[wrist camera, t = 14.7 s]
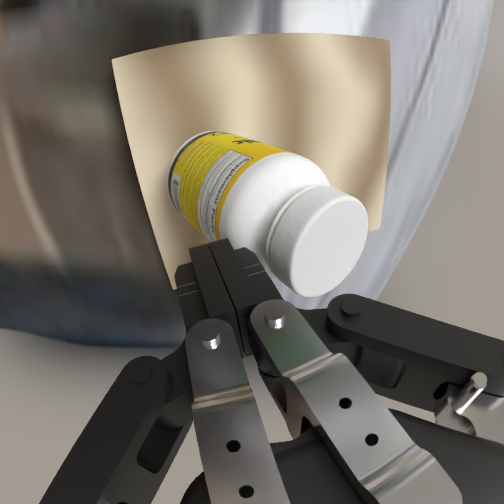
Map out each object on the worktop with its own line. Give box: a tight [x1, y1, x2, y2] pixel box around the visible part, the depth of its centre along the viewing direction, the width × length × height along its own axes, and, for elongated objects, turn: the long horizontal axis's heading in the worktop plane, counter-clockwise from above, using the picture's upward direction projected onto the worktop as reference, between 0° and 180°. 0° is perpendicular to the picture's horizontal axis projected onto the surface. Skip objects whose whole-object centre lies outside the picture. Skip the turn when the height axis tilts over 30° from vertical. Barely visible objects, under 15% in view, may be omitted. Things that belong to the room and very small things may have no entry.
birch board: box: [112, 33, 390, 290], centre depth 20 cm, size 18×16×2 cm
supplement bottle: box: [166, 131, 368, 298], centre depth 14 cm, size 5×5×10 cm
